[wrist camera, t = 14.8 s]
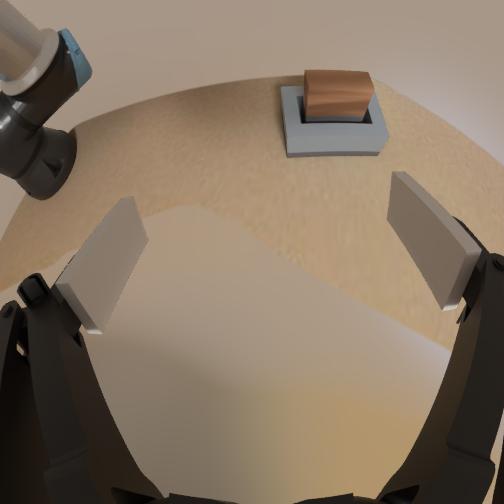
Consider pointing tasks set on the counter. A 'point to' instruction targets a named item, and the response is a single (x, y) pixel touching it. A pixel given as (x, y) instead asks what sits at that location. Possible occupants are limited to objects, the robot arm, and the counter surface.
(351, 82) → the brown wood block
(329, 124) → the frame block
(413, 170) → the counter surface
